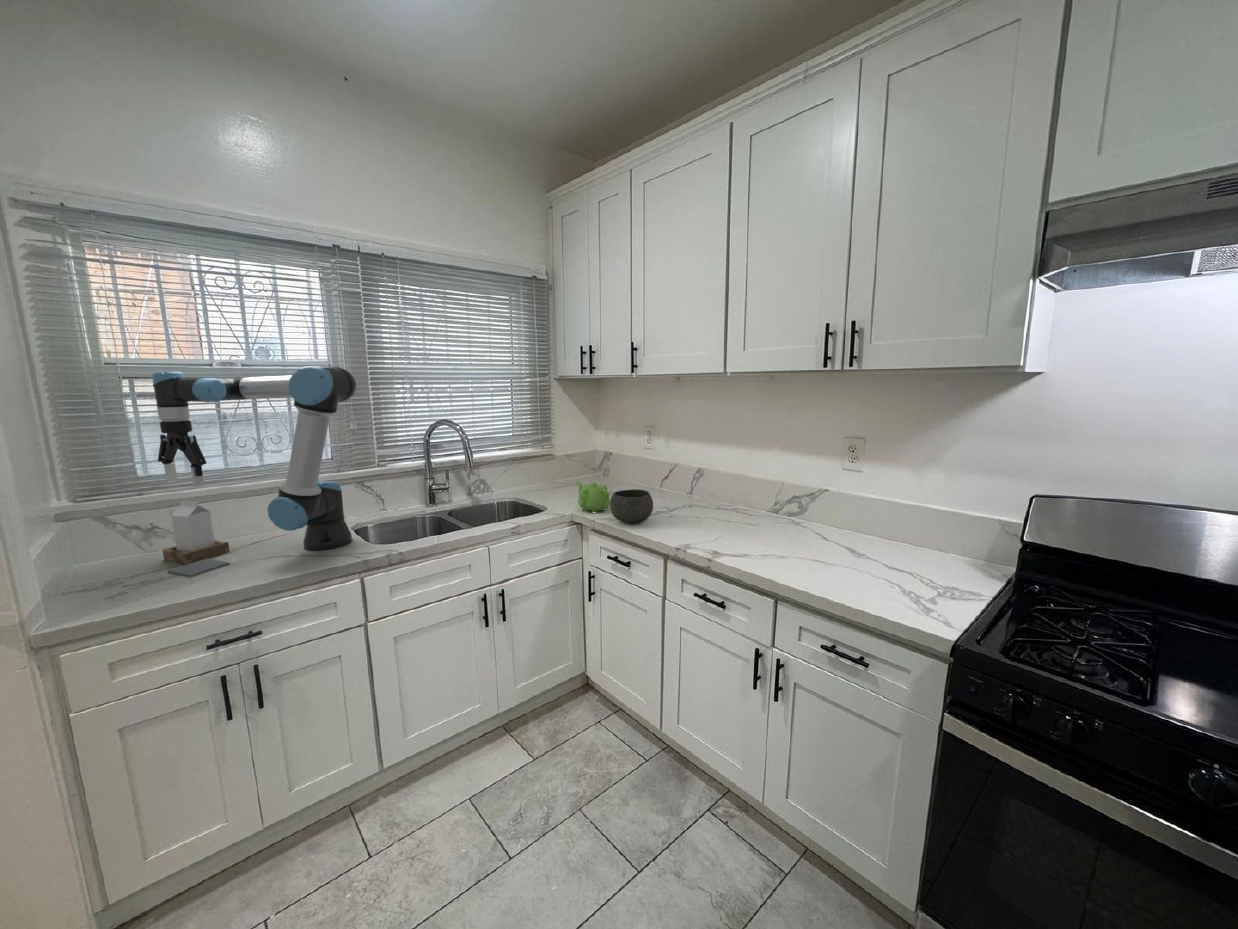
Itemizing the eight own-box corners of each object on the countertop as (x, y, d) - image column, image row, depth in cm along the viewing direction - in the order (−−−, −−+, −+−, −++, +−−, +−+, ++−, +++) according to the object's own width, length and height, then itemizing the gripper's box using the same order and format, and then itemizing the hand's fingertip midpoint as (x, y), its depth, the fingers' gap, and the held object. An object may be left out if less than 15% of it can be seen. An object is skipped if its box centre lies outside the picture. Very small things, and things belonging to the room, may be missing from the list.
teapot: (572, 514, 214) (572, 486, 212) (576, 505, 228) (576, 479, 226) (609, 514, 213) (609, 486, 211) (611, 505, 227) (610, 479, 225)
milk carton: (195, 560, 161) (186, 504, 158) (178, 559, 162) (168, 503, 159) (216, 553, 168) (208, 499, 164) (200, 551, 169) (191, 498, 166)
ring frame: (229, 551, 169) (228, 542, 168) (188, 564, 157) (186, 554, 157) (206, 547, 173) (204, 538, 172) (164, 560, 161) (162, 550, 161)
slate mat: (229, 564, 157) (229, 562, 157) (190, 577, 147) (190, 575, 147) (207, 560, 161) (207, 558, 161) (167, 572, 151) (167, 570, 151)
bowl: (628, 531, 189) (628, 500, 187) (601, 521, 203) (600, 491, 201) (662, 523, 200) (662, 493, 198) (633, 513, 214) (633, 485, 212)
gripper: (213, 420, 156) (223, 484, 160) (164, 418, 165) (174, 479, 168) (186, 422, 149) (197, 489, 153) (137, 419, 158) (148, 483, 161)
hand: (185, 484), depth 161 cm, fingers open, 13 cm apart
